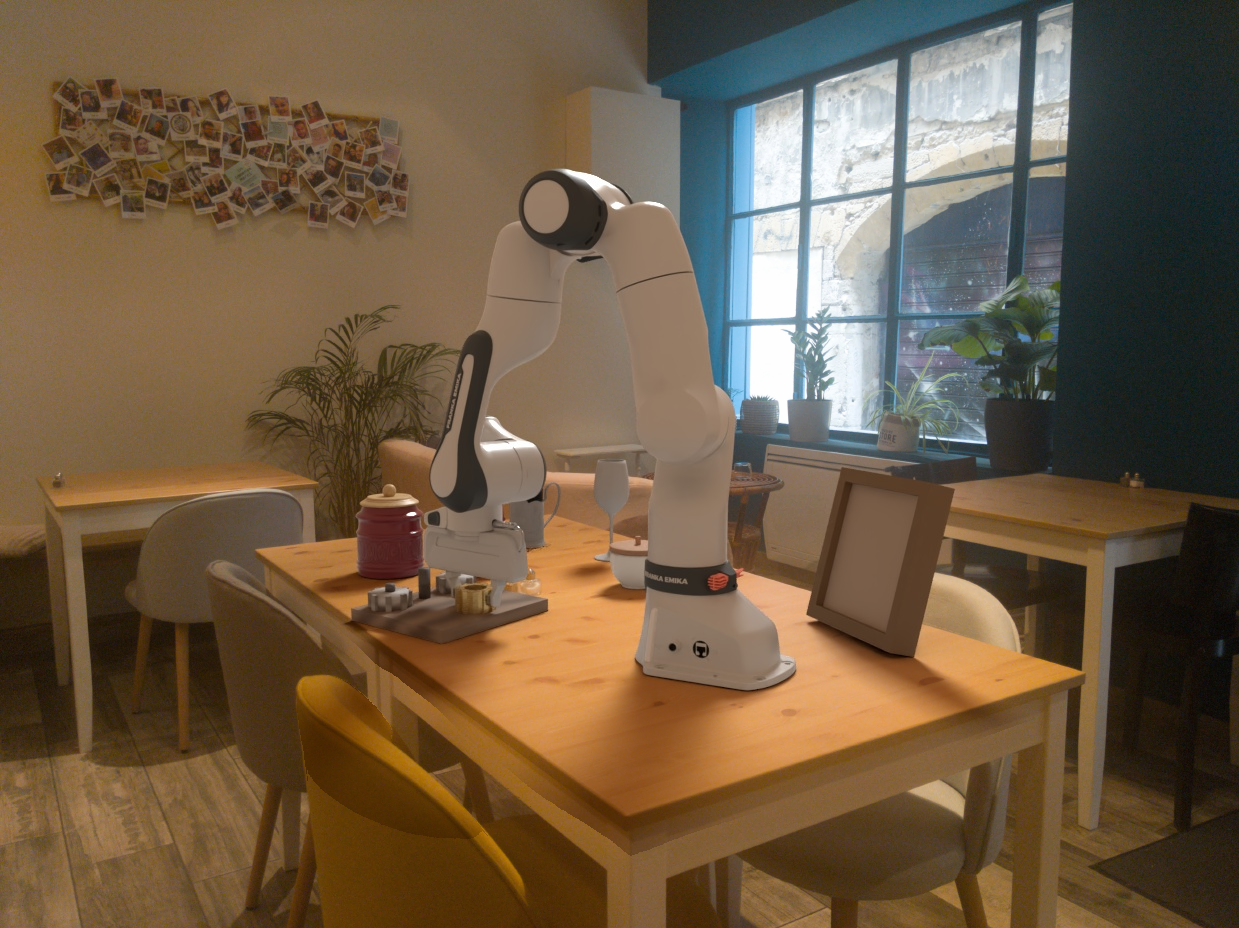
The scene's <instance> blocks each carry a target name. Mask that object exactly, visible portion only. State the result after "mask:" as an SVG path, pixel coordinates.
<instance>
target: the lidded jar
mask: <svg viewBox="0 0 1239 928" xmlns="http://www.w3.org/2000/svg"><path fill="white" fill-rule="evenodd" d="M634 537H635V539H626V540H618V541H613V543H611V544H610V543H609V546H608V547H609V548H608V550H609V549H610V562H609V563H610V568H611V571H612V575H613V576H614V578H615V579H616V581H617V582H619V583H620V584H621V587H623V588H624V589H629V590H645V584H644V569H645V559H646V558H647V557H648V539H642V536H641V535H635V536H634Z"/></svg>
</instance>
